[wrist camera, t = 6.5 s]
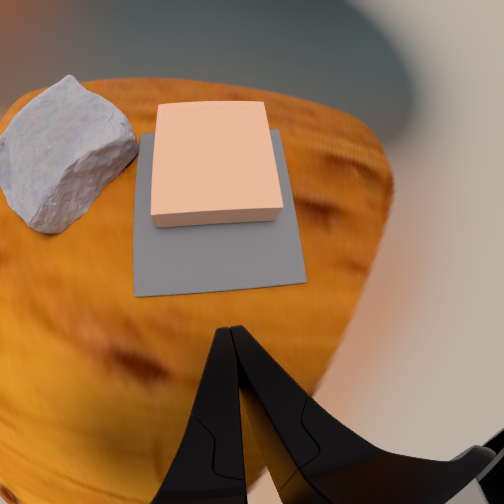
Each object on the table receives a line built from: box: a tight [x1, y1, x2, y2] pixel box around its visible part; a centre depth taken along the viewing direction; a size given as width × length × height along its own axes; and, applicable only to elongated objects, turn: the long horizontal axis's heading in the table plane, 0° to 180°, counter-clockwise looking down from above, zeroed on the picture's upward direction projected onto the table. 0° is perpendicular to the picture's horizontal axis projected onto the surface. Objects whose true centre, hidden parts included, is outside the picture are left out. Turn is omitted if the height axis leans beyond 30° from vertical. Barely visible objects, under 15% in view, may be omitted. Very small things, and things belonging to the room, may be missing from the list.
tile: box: [151, 101, 283, 228], centre depth 16 cm, size 2×7×8 cm
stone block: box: [0, 75, 138, 234], centre depth 15 cm, size 12×5×10 cm
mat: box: [133, 129, 307, 297], centre depth 17 cm, size 11×10×1 cm
